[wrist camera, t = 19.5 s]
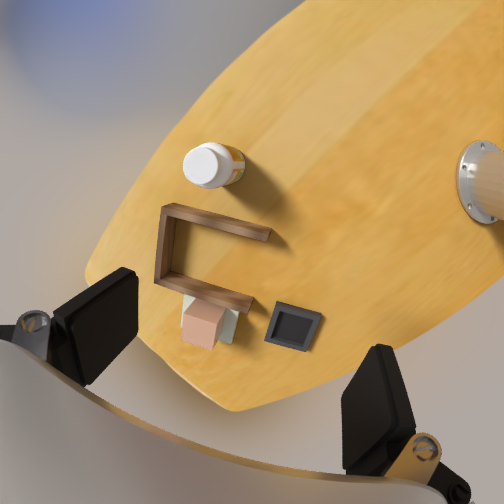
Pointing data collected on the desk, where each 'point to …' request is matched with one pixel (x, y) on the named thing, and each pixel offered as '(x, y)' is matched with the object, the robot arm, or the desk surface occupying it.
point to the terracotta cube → (203, 323)
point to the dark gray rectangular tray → (292, 326)
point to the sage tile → (229, 320)
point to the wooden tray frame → (189, 284)
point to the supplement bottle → (213, 165)
